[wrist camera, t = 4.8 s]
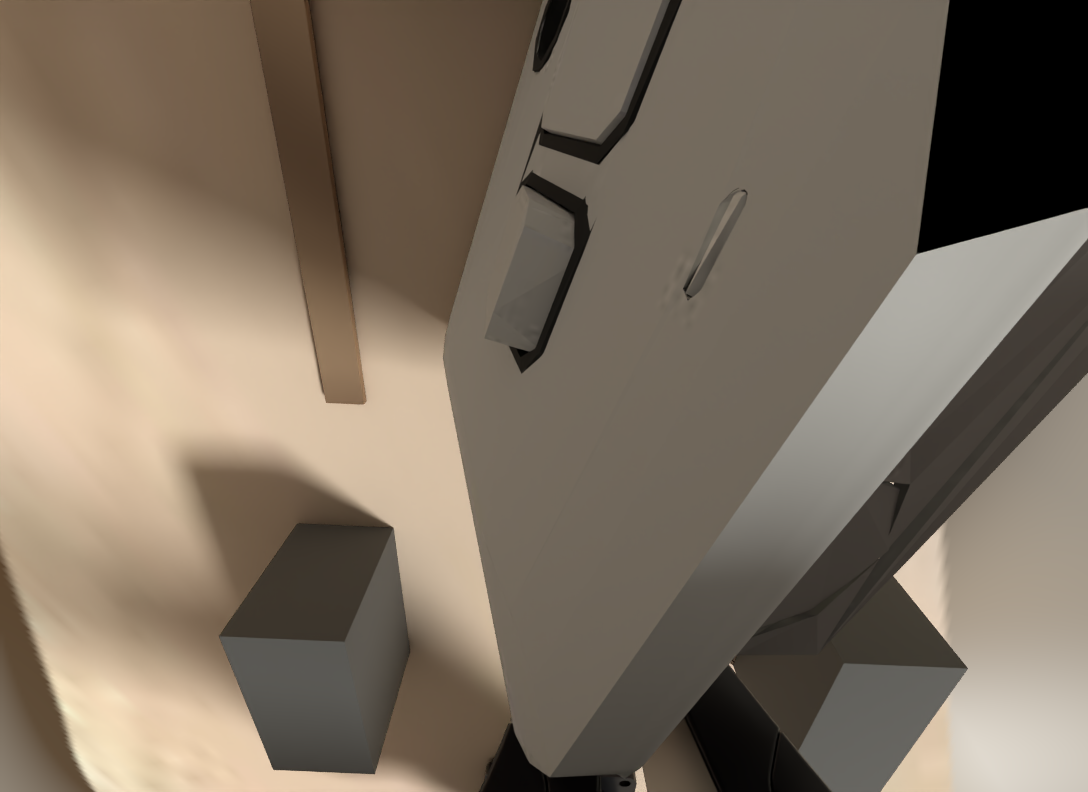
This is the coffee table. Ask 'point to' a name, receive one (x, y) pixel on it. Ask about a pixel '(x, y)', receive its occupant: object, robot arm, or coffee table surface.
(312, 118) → the bay
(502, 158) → the electrical switch
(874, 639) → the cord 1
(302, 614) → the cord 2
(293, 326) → the coffee table surface
